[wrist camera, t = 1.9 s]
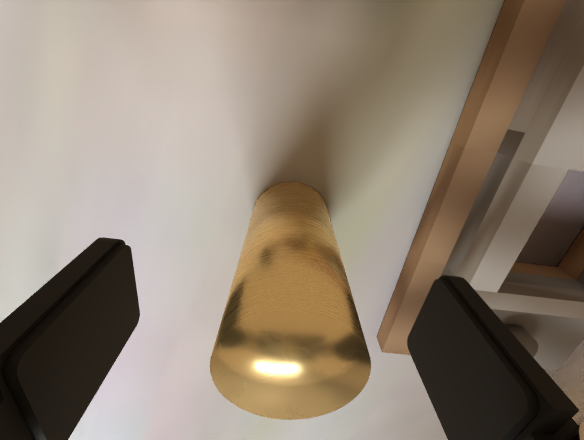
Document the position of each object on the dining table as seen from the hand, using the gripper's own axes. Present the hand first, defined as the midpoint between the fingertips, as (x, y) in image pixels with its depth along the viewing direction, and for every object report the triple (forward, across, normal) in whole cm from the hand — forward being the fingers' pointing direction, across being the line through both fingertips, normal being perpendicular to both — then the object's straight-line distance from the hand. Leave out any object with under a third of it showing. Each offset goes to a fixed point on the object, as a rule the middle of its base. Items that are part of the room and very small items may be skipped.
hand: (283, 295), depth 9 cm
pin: (+7, 0, +1) cm, 7 cm away
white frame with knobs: (+7, -13, -1) cm, 15 cm away
